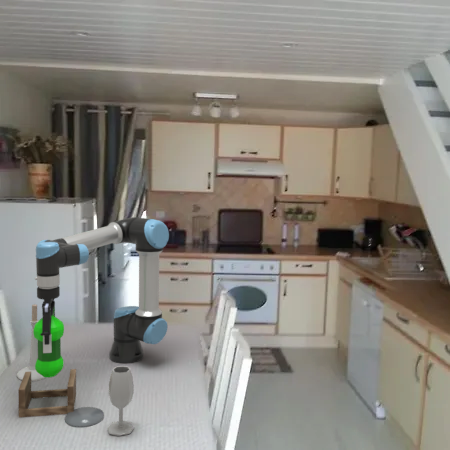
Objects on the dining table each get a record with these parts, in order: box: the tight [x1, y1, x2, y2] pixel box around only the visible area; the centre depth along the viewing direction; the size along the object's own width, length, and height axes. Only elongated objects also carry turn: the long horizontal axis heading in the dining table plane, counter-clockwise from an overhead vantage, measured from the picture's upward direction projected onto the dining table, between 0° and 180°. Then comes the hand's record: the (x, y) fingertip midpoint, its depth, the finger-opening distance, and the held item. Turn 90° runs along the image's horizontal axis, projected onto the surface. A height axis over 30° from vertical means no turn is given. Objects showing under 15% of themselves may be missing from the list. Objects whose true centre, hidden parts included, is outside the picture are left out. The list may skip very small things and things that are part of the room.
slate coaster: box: [64, 406, 105, 428], centre depth 172 cm, size 13×13×1 cm
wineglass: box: [106, 365, 135, 437], centre depth 164 cm, size 9×9×21 cm
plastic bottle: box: [34, 305, 65, 378], centre depth 177 cm, size 10×10×25 cm
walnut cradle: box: [17, 368, 77, 419], centre depth 179 cm, size 18×15×10 cm
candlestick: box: [16, 303, 47, 382], centre depth 203 cm, size 13×13×30 cm
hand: (49, 346), depth 178 cm, fingers closed on plastic bottle, 10 cm apart
